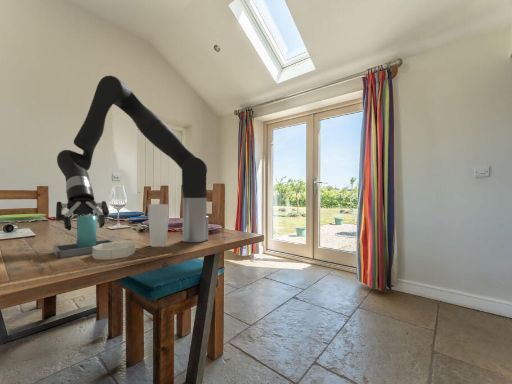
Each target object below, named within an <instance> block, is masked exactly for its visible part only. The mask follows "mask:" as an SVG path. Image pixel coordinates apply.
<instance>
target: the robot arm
mask: <svg viewBox="0 0 512 384" xmlns="http://www.w3.org/2000/svg"><path fill="white" fill-rule="evenodd" d="M112 106H116V107H118V108H119V109H120V110H122V111H123V113H124V114H126V115H127V116H129V118H131V119H132V122H134V123H135V126H136V127H137V129H138V130H139V132H140V133H141V134H142V135H143V136H144V137H145V138H146V139H147V140H148V141H149V142H150V143H151V144H152V145H154V147H156V148H157V149H158V150H159V151H161V152H162V153H163V154H165V155H166V156H168V158H170V159H171V160H172V161H174V163H176V165H177V166H178V167H179V168H180V169H181V188H182V189H181V191H182V242H184V243H200V242H205V241H207V240H209V216H208V215H207V199H208V198H207V194H208V193H207V191H208V190H207V174H208V167H207V165H206V162H205V161H204V160H203V158H200V157H198V156H196V155H195V154H194V153H193V152H191V151H190V150H189V149H188V148H187V147H186V146H185V145H184V144H183V142H182V141H181V140H180V139H179V138H178V136H177V135H176V134H175V133H174V132H173V130H172V129H171V128H170V126H169V125H167V124H166V123H165V122H164V121H163V120H162V119H161V118H160V117H159V116H158V115H156V114H155V113H154V112H153V111H152V110H151V109H149V108H147V106H145V105H144V104H143V103H142V102H141V100H140V99H139V98H138V97H137V96H136V95H135V93H134V92H133V90H131V88H130V87H129V86H128V85H127V84H126V83H124V81H122V80H121V79H119V78H118V77H116V76H113V75H105V76H103V77H102V78H101V79H100V80H99V82H98V84H97V86H96V89H95V92H94V95H93V98H92V100H91V104H90V106H89V109H88V113H86V114H87V115H86V116H85V119H84V121H83V123H82V125H81V126H80V129H79V130H78V131H77V134H76V136H75V137H74V139H73V144H74V145H75V147H77V148H78V149H81V150H82V151H83V153H79V152H76V151H74V150H70V149H63V150H62V151H60V152H59V153H58V154H57V156H56V162H57V163H56V164H57V166H58V167H59V169H60V171H61V173H62V174H63V176H64V177H65V193H66V197H67V203H62V202H61V201H56V206H55V207H56V208H55V220H56V221H58V222H59V221H63V226H64V229H65V230H67V231H71V229H72V223H71V222H72V221H71V219H72V218H74V217H75V216H76V215H77V216H88V215H95V216H97V224H98V228H100V229H103V227H104V226H105V223H106V221H105V219H107V218H109V214H110V211H109V207H108V205H107V201H105V200H102V201H101V202H96V200H95V196H94V192H93V191H94V189H93V187H92V183H91V181H90V175H89V173H88V170H89V169H90V168H91V165H92V160H93V155H94V152H95V149H96V146H97V145H98V143H99V142H100V140H101V138H102V137H103V134H104V130H105V124H106V118H107V114H108V112H109V111H110V109H111V108H112ZM65 209H67V210H68V211H67V212H66V213H65V214H63V211H64V210H65Z"/></svg>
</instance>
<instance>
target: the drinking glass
mask: <svg viewBox="0 0 512 384" xmlns="http://www.w3.org/2000/svg"><path fill="white" fill-rule="evenodd" d="M147 210H148V212H147V213H148V215H147V217H148V224H149V225H148V227H149V229H148V230H149V241H150V243H149V244H150V247H153V248H157V247H158V248H160V247H162V248H165V247H166V246H167V243H168V242H167V241H168V238H167V237H168V229H169V218H170V217H169V216H170V204H168V203H152V204H150V203H149V204H148V209H147Z"/></svg>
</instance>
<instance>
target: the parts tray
mask: <svg viewBox="0 0 512 384" xmlns="http://www.w3.org/2000/svg"><path fill="white" fill-rule="evenodd" d="M111 242H115V241H114V240H112V239H103V240H97V245H99V244H103V243H111ZM53 254H54V256H55V258H57V259H65V258H71V257H77V256H79V257H80V256H85V255H92V247H86V248H78V249H77V242H76V243H69V244H60V245H53Z"/></svg>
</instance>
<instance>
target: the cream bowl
mask: <svg viewBox="0 0 512 384" xmlns="http://www.w3.org/2000/svg"><path fill="white" fill-rule="evenodd" d="M135 253H136V243H134V242H131V241H114V242H111V243H103V244H99V245H96V246H93V247H92V254H91V256H92V258H93V259H94V260H117V259H123V258H127V257H130V256H132V255H134V254H135Z"/></svg>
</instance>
